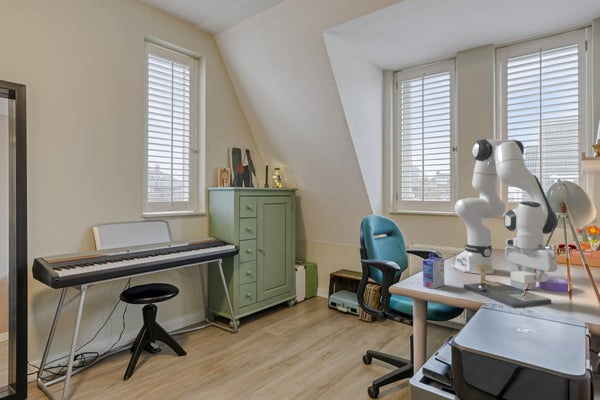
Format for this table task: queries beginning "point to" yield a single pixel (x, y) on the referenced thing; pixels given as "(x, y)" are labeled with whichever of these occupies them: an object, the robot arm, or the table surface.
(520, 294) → the plate
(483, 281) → the t key
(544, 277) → the cover lid
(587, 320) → the table surface
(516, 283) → the supplement box
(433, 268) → the ink cartridge box
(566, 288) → the masking tape
